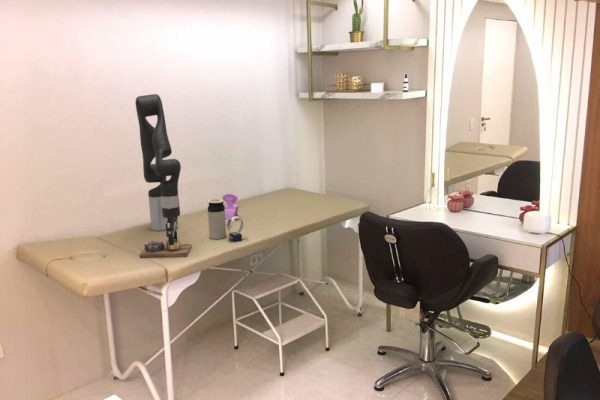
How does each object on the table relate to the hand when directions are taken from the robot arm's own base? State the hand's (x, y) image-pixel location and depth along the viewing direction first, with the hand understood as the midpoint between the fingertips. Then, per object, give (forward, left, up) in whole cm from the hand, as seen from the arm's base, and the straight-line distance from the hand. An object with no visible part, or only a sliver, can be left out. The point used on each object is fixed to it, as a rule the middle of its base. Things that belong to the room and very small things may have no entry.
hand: (173, 242), depth 232 cm
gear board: (0, -3, -5) cm, 6 cm away
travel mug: (-22, +17, -5) cm, 28 cm away
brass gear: (0, 0, -2) cm, 2 cm away
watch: (-16, +26, -5) cm, 31 cm away
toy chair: (-55, +21, -5) cm, 59 cm away
